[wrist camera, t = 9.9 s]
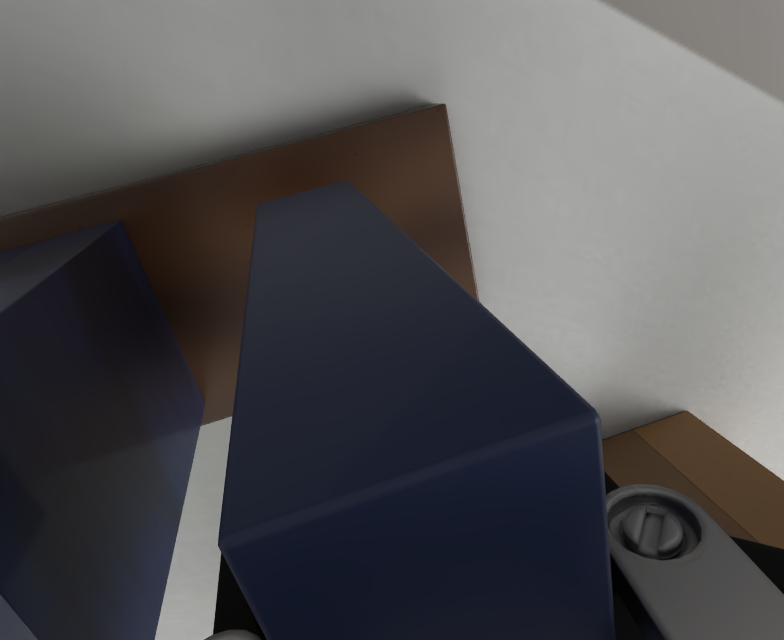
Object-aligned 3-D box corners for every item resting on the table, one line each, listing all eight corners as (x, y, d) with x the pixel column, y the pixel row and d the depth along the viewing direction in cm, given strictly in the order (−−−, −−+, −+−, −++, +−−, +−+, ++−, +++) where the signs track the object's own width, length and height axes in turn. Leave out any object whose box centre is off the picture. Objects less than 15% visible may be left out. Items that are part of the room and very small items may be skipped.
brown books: (575, 449, 29) (760, 656, 18) (687, 410, 30) (930, 586, 19) (584, 549, 32) (746, 775, 21) (685, 512, 33) (890, 712, 22)
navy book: (256, 204, 15) (212, 545, 3) (348, 178, 15) (604, 412, 4) (330, 423, 18) (440, 980, 7) (405, 399, 19) (635, 891, 7)
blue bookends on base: (-42, 227, 18) (-755, 507, 6) (436, 102, 20) (724, 98, 7) (90, 447, 23) (-146, 897, 10) (476, 326, 24) (704, 570, 12)
